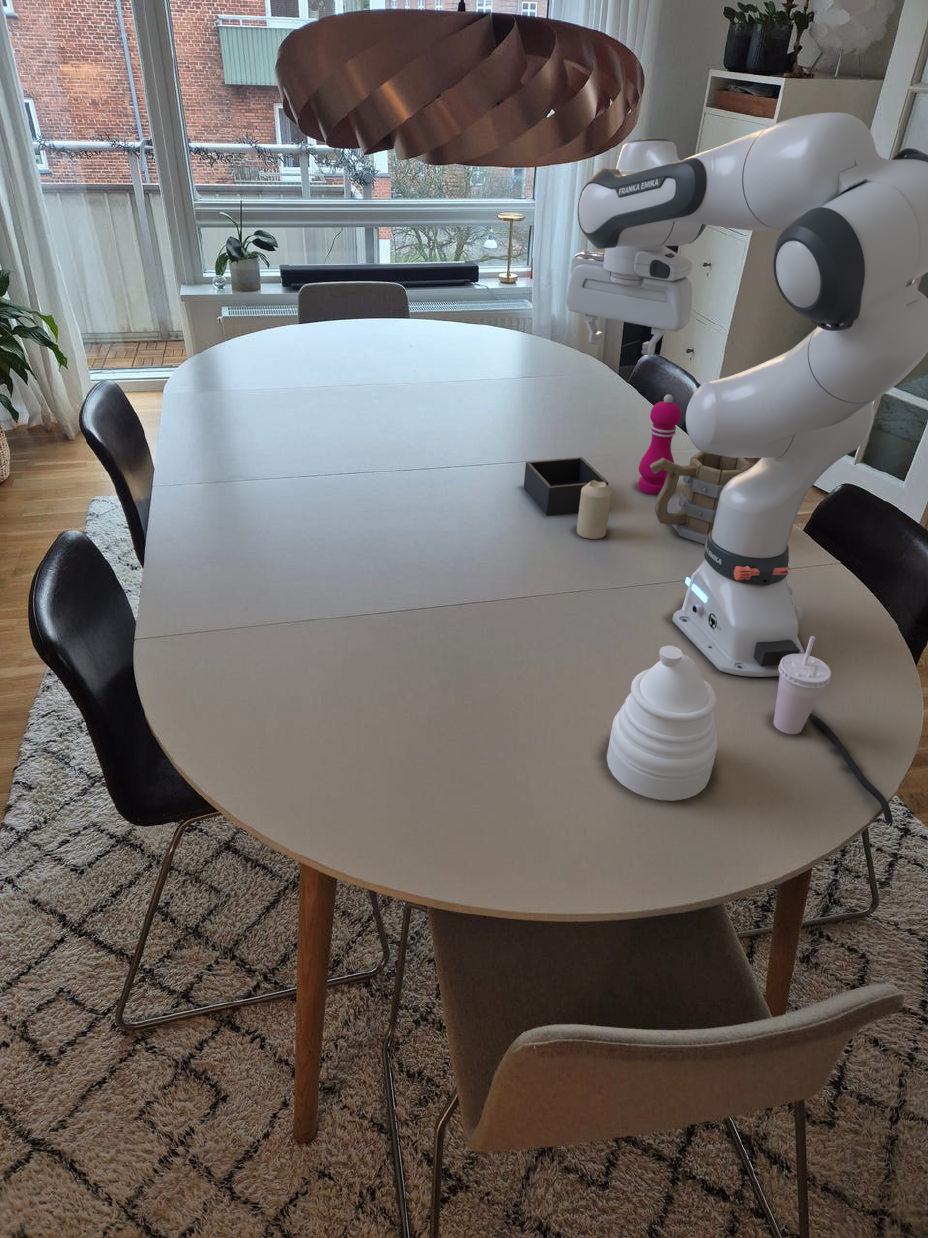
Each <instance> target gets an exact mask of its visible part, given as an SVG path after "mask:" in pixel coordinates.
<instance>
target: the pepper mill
mask: <svg viewBox="0 0 928 1238" xmlns="http://www.w3.org/2000/svg"><path fill="white" fill-rule="evenodd" d="M673 401H674V396H673V395H672V394H666V395H665V396H664V397H663V401H659V402H656V403H655V404H654V405H653V406H652V408H651V410H650V414H649V418H650V421H651V422H652V424H651V425H650V429H649V431H650V433H651V441H650V444H649V446H648V448H647V450H646V451H645V453H644V454H643V456H642V457H641V459H640V462H639V465H638V473H639V475H640V478H639V479H638V484H637V486H638V487H637V488H638V490H640V491H641V492H643V493H645V494H649V495H656V496H658V495H659V493H660V491H661V489H662V488H663V486H664V483H665V479H666V476H667V472H666V471H664V470H661V471H659V472H658V473H656V474H654V473H653V472H652V470H651V468H650V464H652V463H654V462H656V461H658V460H659V459H661V458H664V459H666V460H668V461H670V462H672V463H675V459H674V457H673V453H672V440H673V437H674V436H675V435H676V431H677V425H678V424H679V423H680V421H681V419H682V410H681V408H680V407H679V405H678V404H677V403H675V402H673Z"/></svg>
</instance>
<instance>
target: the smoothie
mask: <svg viewBox="0 0 928 1238" xmlns="http://www.w3.org/2000/svg"><path fill="white" fill-rule="evenodd" d="M815 640H816V636H815V635H810V637H809V640H808V644H807V647H806V650H805V654H790V655H787V656H785V657H783V658H782V659H781V662H780V664H779V668H778V670H779V672H780V676H778V686H777V693H776V701H775V706H774V714H773V715H774V716H773V726H774V727H775V728H776V730H778V731H779V732H782V733H784V734H786V735H797V734H800V733H802V731H803V729H804V727H805V726H806V725H805V724H806V723H807V721H808V719H809V718H808V717H809V715H810V713H812V710H814V707H815V705H816V703H817V702H818V699H819V697H820V695H821V693H822V692H823V690H824V688H825V687H826V686H827V685H829V683H830V681H831V676H832V670H831V668H830V667H829V665H828V664H826V663H825V662H824V661H822V660H821V659H819V658H817V657H814V656H812V655H811V653H812V648H813V646H814V643H815Z"/></svg>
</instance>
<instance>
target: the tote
mask: <svg viewBox="0 0 928 1238" xmlns="http://www.w3.org/2000/svg"><path fill="white" fill-rule="evenodd" d="M523 479H524V480H523V489H524V490H525V492H526V493H527V494H528V495H529V497H530V498H531V499H532V500H533V501H534V503H535V504H536V505H538V507H539V508H540V510H541V511H542V512H543V513H544V514H545V515H546V516H553V515H554V516H555V515H562V514H564V515H565V514H573V513H579V506H580V498H581V490H582V488H583V487H584V486H585V485H587V484H588V483H590V482H591V481H592V480H596V481H598V482H605V483H606V485H607V486H608V487H609V481H608V480H607V479H606V478H605V477H603V476H602V474H601V473H600V472H598V471H597V469H595V468H594V467H593V466H592V465H591V464H590V463H589V462H588V461H587V460H586V459H585V458H584V457H583V456H580V457H579V456H578V457H569V458H556V459H545V460H543V459H542V460H533V461H525V467H524V477H523Z"/></svg>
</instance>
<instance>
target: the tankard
mask: <svg viewBox="0 0 928 1238" xmlns="http://www.w3.org/2000/svg"><path fill="white" fill-rule="evenodd" d="M751 467H753V466H752V464H751V463H750V462H749V461H748V460H747V459H746V458H731V457H725V456H720V455H715V454H711V453H706V452H702V451H699V452H697V453H696V454H694V455H693V456H691V457H690V461H689V465H680V464H677V463H675V462H674V463H672V462H670V461H668V460H666V459H664V458H661V459H659V460H658V461H656V462H654V463H652V464H650V468H651V470H652V472H653V473H654V474H656V473H658V472H659V471H661V470H664V471H666V472H667V476H666V479H665V483H664V486H663V488H662V489H661V491H660V493H659V495H657V496H656V499H655V503H654V513H655V515H656V517H657V520H658V522H659V523H660V524H662V525H670V526H672V527H673V528H674V530H675V531H676V532H677V534H678V535H679V536H680V537H681V538H683V539H687V540H690V541H692V542H696V543H699V544H701V545H704V546H705V545H706V541H707V539H708V536H709V533H710V532H711V531H712V530H713V525H714V521H715V516H716V511H717V507H718V502H719V498H720V493H721V491H722V490H723V488H724V486H725V485H726V484H727V483H728V482H729V481H730V480H731V479H732V478H733V477H735V476H737V475H739V474H741V473H743V472H745V471H746V470H748V469H750V468H751ZM680 477H682V481H683V483H684V484H685V486H684V491H683V492H681V493H680V494H679V498H678V503H677V505H678V506H679V507H680V510H678V512H674V513H671V512H668V504H669V502H670V500H671V498H672V496H673V495H674V493H675V491H676V490H677V486H678V482H679V479H680Z"/></svg>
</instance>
